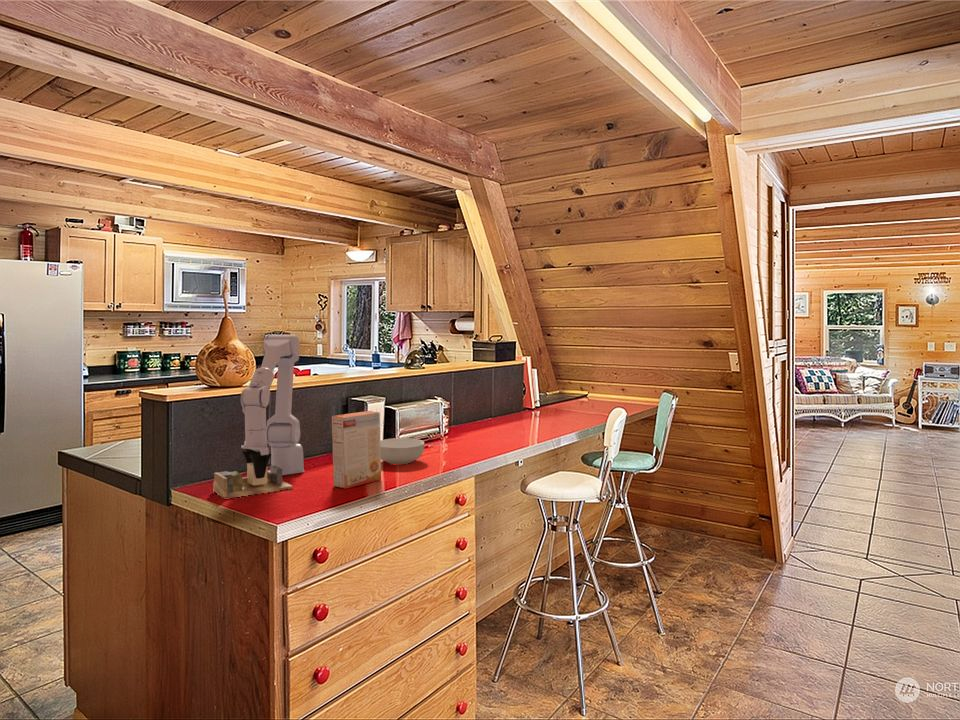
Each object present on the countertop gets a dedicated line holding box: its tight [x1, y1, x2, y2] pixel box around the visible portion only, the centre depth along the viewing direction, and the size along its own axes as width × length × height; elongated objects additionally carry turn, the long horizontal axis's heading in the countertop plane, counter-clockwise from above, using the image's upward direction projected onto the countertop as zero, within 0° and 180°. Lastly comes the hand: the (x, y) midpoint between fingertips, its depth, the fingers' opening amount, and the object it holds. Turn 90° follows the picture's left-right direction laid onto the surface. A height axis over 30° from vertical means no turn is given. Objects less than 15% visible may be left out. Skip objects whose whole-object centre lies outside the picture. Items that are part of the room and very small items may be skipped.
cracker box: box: [331, 410, 382, 490], centre depth 189 cm, size 14×6×21 cm, turn 141°
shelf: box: [212, 470, 294, 500], centre depth 181 cm, size 19×10×6 cm, turn 129°
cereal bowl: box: [380, 437, 425, 465], centre depth 218 cm, size 17×17×7 cm
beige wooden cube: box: [246, 463, 268, 485], centre depth 183 cm, size 4×5×6 cm
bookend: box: [269, 465, 283, 484], centre depth 186 cm, size 2×5×4 cm, turn 39°
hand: (256, 476), depth 183 cm, fingers closed on beige wooden cube, 5 cm apart
